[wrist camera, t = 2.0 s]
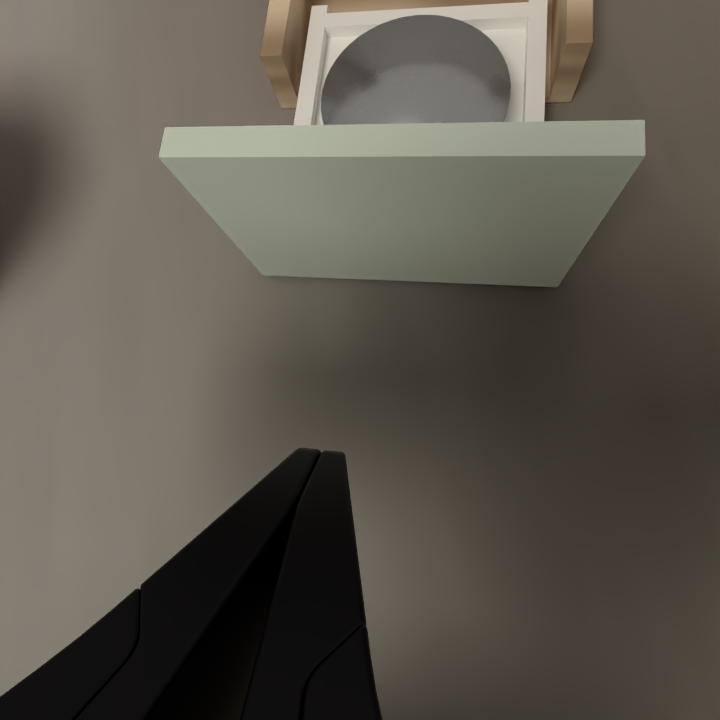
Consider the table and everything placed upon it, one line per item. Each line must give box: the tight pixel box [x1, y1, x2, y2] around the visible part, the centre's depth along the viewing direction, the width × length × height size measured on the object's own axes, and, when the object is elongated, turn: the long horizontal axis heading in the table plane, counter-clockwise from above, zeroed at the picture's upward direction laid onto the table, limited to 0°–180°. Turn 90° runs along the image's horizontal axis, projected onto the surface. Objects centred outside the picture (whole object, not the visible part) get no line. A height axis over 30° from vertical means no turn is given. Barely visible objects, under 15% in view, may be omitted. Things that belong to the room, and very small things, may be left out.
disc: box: [321, 15, 511, 125], centre depth 21 cm, size 8×8×2 cm
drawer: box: [159, 0, 645, 287], centre depth 18 cm, size 14×13×9 cm
